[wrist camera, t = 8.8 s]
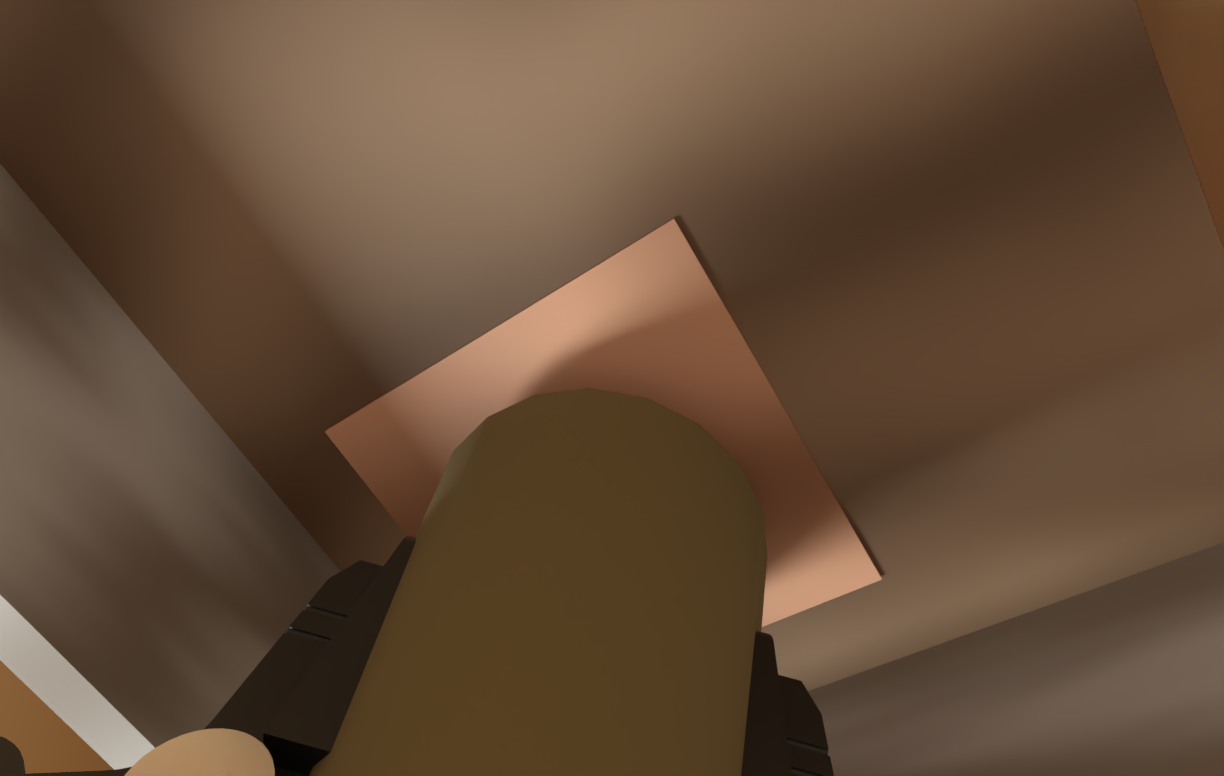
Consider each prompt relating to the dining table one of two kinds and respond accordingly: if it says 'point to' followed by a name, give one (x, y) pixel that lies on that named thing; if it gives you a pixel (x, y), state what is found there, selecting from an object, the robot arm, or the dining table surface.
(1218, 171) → the dining table surface
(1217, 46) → the dining table surface
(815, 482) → the board
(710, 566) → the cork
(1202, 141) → the dining table surface
